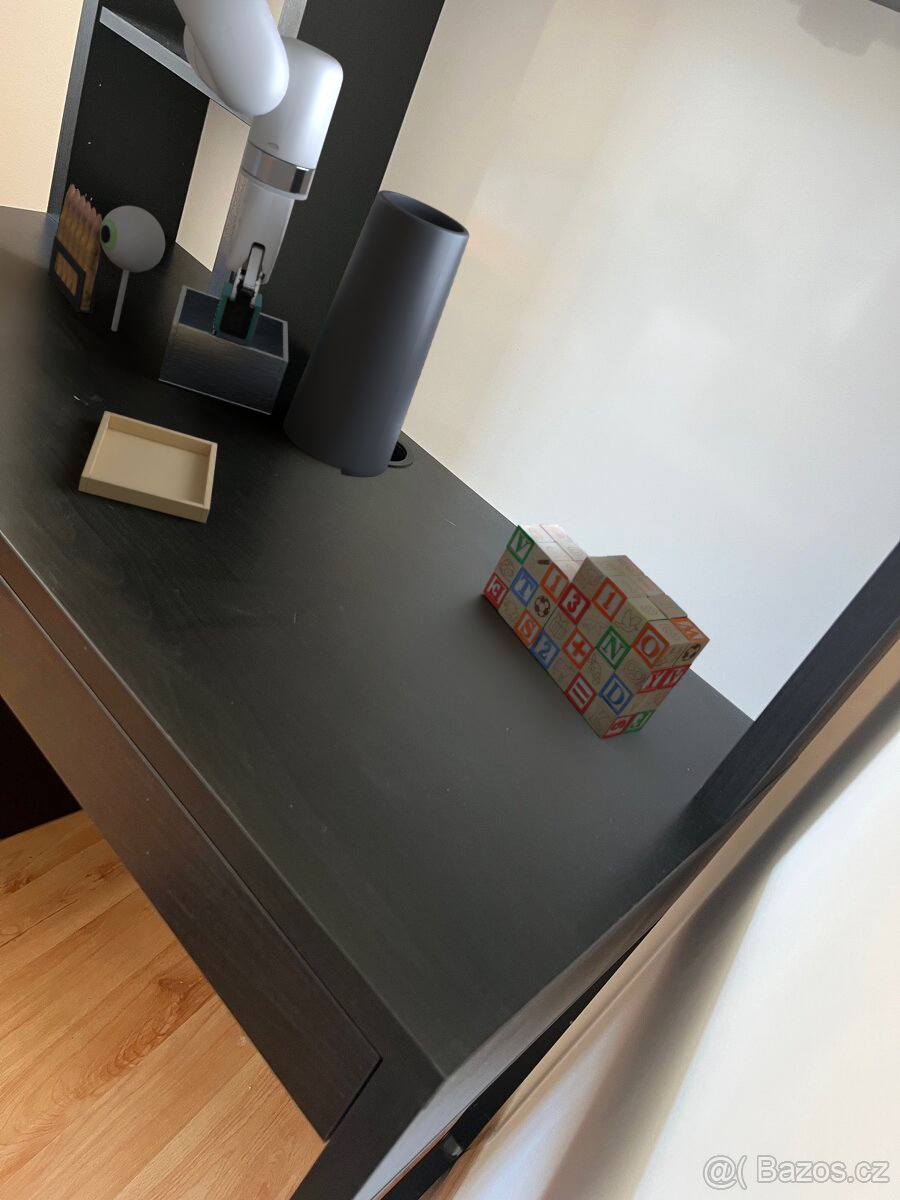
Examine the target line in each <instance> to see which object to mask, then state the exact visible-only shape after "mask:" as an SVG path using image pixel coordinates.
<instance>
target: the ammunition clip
mask: <svg viewBox="0 0 900 1200" xmlns="http://www.w3.org/2000/svg"><path fill="white" fill-rule="evenodd" d="M102 222H103V218H102V213H97V209H96V207H92V206H91V202H90V201H89V200H87V201H86V197H85V195H84V194H82V195H81V192H80V190H79V189H76V187H75V184H74V183H71V185H69V187H68V190H67V191H66V195H65V198H64V202H63V206H62V211H61V214H60V217H59V222H58V227H57V234H56V235H54V237H53V242H52V248H51V254H50V260H49V265H48V271H47V274H48V276H49V277H50V279H51V280H52V282H54V284H55V285H56V287H57V288H58V289H59V291H60V292H61V293H62V294H63V296H64V297H65V298H66V299H67V301H68V302H69V303H70V305H71V306H72V308H73V309H74V310H75V311H76V312H77V313H84V314H91V315H92V314H93V310H94V306H95V305H94V304H95V299H96V294H97V293H96V292H97V287H98V280H99V276H100V274H99V273H98V266H99V261H100V256H101V240H100V229H101V224H102Z"/></svg>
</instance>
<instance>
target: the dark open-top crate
mask: <svg viewBox="0 0 900 1200" xmlns="http://www.w3.org/2000/svg"><path fill="white" fill-rule="evenodd" d="M219 298H220V297H219ZM219 298H218V296H216V295H214V294H210V293H207V292H206V291H202V290H199V289H196V288H193V287H192V286H191V287H190V286H187V285H186V284H182V287H181V290H180V294H179V297H178V301H177V304H176V307H175V312H174V315H173V318H172V322H171V326H170V332H169V335H168V340H167V342H166V346H165V351H164V354H163V355H164V356H163V359H162V364H161V367H160V371H159V374H158V375H159V376H158V380H157V383H159V384H162V385H165V386H168V387H172V388H174V389H178V390H181V391H183V392H187V393H190V394H193V395H197V396H200V397H204V398H207V399H210V400H213V401H217V402H220V403H223V404H226V405H229V406H233V407H236V408H237V409H238V408H239V409H242V410H245V411H249V412H252V413H254V414H258V415H261V416H264V417H268V418H271V415H272V412H273V410H274V406H275V403H276V401H277V397H278V394H279V391H280V388H281V385H282V382H283V379H284V376H285V373H286V371H287V367H288V365H289V337H288V321H287V320H283V319H280V318H278V317H274V316H272V315H270V314H266V313H264V312H261V311H260V315H259V318H258V321H257V325H256V328H255V331H254V335H253V338H252V341H251V342H248V341H245V340H242V339H239V338H236V337H233V336H230V335H227V334H224V333H221V332H218V331H217V332H216V333H217V334H216V335H214V334H213V333H212V332H213V325H214V324H213V323H214V321H215V320H214V319H215V316H216V315H215V314H216V312H217V308H218V304H219V301H220V299H219Z"/></svg>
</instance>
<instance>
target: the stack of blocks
mask: <svg viewBox="0 0 900 1200" xmlns="http://www.w3.org/2000/svg"><path fill="white" fill-rule="evenodd" d="M482 594H483V595H484V596H485V597H486V598H487V599H488V600H489V602H490V603H491V605H493V607H494V608H495V609H496V610H497V612H498V613H499V615H500V616H501V617H502V618H503V620H504V621H505V623H506V624H507V625H508V626H509V627H510V628H511V629H512V630H513V632H514V633H515V634H516V636H517V637H518V638H519V640H521V643H523V644H524V646H525V647H526V648H527V650H529V651H530V652H531V654H532V655H533V656H534V658H536V659H537V661H538V662H539V664H541V666H542V667H543V668H544V669H545V671H547V673H548V674H549V675H550V677H551V678H552V679H553V680H554V682H555V683H556V684H557V685H558V686H559V688H560V689H561V691H563V692H564V694H565V696H566V697H567V698H568V699H569V701H570V702H571V704H572V705H573V706H574V707H575V709H576V710H577V711H578V712H579V714H581V715H582V717H583V718H584V720H585V721H586V722H587V723H588V725H589V726H590V727H591V728H592V730H593V731H594V732H595V733H596V735H597V736H598V737H599V738H600V739H602V740H603V739H609V738H613V737H617V736H620V735H622V734H628V733H632V732H637V731H641V730H643V728H644V727H645V725H646V724H647V723H648V721H649V720H650V719H651V717H652V716H653V715H654V714H655V712H656V711H657V709H658V708H659V707H660V705H661V704H662V703H663V702H664V700H665V699H666V698H667V696H668V695H669V694H670V693H671V691H673V689H674V687H676V686H677V684H678V683H679V682H680V681H681V680H682V678H683V677H684V675H686V673H687V671H688V670H689V669H690V668H691V667H692V665H693V663H694V661H696V659H697V658H698V656H700V654H701V653H702V652H703V650H705V648H706V646H707V645H708V644H709V643H710V641H711V639H710V638H709V637H708V636H707V634H705V633H704V632H703V630H701V629H700V628H699V627H698V625H696V624H695V622H694V621H692V620H691V618H689V616H688V613H687V612H686V611H685V610H684V609H683V608H682V607H681V606H680V605H679V604H678V603H677V602H676V601H674V599H672V597H670V595H668V594H666V593H665V591H664V590H663V589H662V588H660V587H659V586H658V585H657V584H656V582H654V581H653V579H651V578H650V577H649V576H648V575H646V574H645V573H644V571H643V570H642V569H640V567H638V565H636V564H635V563H634V562H633V560H632V559H631V558H630V557H628V556H627V555H626V554H616V555H615V554H613V555H603V556H599V555H598V556H597V555H594V556H590V555H589V554H588V553H587V552H585V551H584V550H583V548H582V547H581V546H580V545H579V544H578V543H577V542H576V541H574V539H572V537H571V536H569V534H568V533H567V532H566V531H565V530H564V529H563V528H562V527H561V526H560V525H559V524H545V523H543V524H541V523H539V524H523V523H522V524H521V523H519V524H517V526H516V527H515V529H514V531H513V533H512V535H511V536H510V539H509V541H508V543H507V544H506V546H505V550H504V551H503V553H502V554H501V557H500V559H499V560H498V562H497V564H496V566H495V568H494V570H493V572H492V574H491V575H490V577H489V578H488V581H487V583H486V584H485V586H484V588H483V590H482Z"/></svg>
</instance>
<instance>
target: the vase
mask: <svg viewBox="0 0 900 1200" xmlns="http://www.w3.org/2000/svg"><path fill="white" fill-rule="evenodd" d="M469 239H470V232H469V230H468V228H466V227H465V226H464V225H463V224H461V222H459V221H458V220H456V219H455V218H453V217H452V216H450V215H448V214H446V213H444V212H443V211H441V210H440V209H437V208H435V207H433V206H431V205H429V204H427V203H425V202H423V201H420V200H418V199H416V198H414V197H411V196H409V195H405V194H402V193H400V192H396V191H392V190H386V189H385V190H384V189H383V190H380V191H378V192H377V193H376V195H375V198H374V200H373V202H372V205H371V207H370V209H369V212H368V215H367V217H366V219H365V222H364V225H363V227H362V229H361V231H360V235H359V237H358V239H357V241H356V243H355V246H354V249H353V250H352V252H351V256H350V258H349V261H348V263H347V266H346V269H345V271H344V273H343V275H342V279H341V280H340V282H339V285H338V288H337V290H336V292H335V295H334V298H333V300H332V303H331V305H330V308H329V309H328V312H327V314H326V317H325V319H324V321H323V324H322V328H321V330H320V331H319V333H318V337H317V339H316V341H315V344H314V347H313V349H312V351H311V354H310V356H309V359H308V361H307V363H306V366H305V368H304V370H303V374H302V376H301V377H300V380H299V384H298V385H297V388H296V389H295V390H296V391H295V393H294V395H293V398H292V400H291V403H290V405H289V407H288V410H287V412H286V415H285V417H284V420H283V427H282V428H283V430H284V433H285V435H286V436H287V437H288V439H289V440H290V441H291V442H292V443H293V444H294V445H295V446H296V447H297V448H298V449H300V450H301V451H303V452H304V453H305V454H307V455H308V456H310V457H312V458H313V459H316V460H318V461H319V462H322V463H324V464H325V465H329V466H331V467H333V468H336V469H340V473H341V474H344V475H348V476H355V477H374V476H379V475H381V474H383V473H384V472H385V471H386V470H387V469H388V467H389V463H390V461H391V459H392V456H393V453H394V450H395V447H396V444H397V443H398V439H399V436H400V434H401V431H402V427H403V425H404V423H405V420H406V417H407V414H408V411H409V408H410V405H411V404H412V399H413V397H414V395H415V391H416V389H417V386H418V383H419V380H420V378H421V375H422V371H423V370H424V367H425V363H426V361H427V358H428V356H429V352H430V350H431V348H432V343H433V341H434V339H435V336H436V332H437V329H438V327H439V324H440V321H441V318H442V316H443V312H444V310H445V308H446V304H447V301H448V298H449V297H450V293H451V290H452V287H453V284H454V282H455V279H456V276H457V274H458V271H459V267H460V265H461V262H462V259H463V256H464V254H465V252H466V249H467V246H468V242H469Z"/></svg>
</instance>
